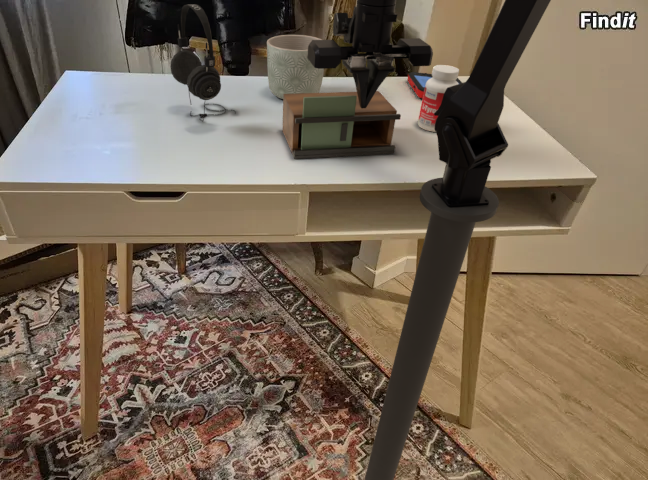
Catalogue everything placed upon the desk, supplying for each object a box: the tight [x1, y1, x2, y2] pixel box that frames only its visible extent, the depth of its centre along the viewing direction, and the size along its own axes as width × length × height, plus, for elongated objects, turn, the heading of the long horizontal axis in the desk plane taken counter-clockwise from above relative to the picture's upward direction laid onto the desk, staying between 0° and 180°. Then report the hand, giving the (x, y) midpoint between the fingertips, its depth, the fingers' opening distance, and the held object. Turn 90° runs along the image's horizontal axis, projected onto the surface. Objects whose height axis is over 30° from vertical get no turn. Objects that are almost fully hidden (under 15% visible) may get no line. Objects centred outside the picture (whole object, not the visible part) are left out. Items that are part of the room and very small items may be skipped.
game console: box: [407, 71, 463, 100], centre depth 114 cm, size 14×13×2 cm
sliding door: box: [301, 95, 357, 150], centre depth 84 cm, size 1×9×9 cm, turn 100°
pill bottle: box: [417, 64, 460, 133], centre depth 95 cm, size 6×6×11 cm
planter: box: [266, 34, 325, 100], centre depth 107 cm, size 12×12×11 cm
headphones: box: [170, 3, 237, 122], centre depth 92 cm, size 15×11×20 cm
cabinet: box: [281, 90, 402, 160], centre depth 89 cm, size 12×18×7 cm, turn 100°
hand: (362, 107), depth 83 cm, fingers closed
